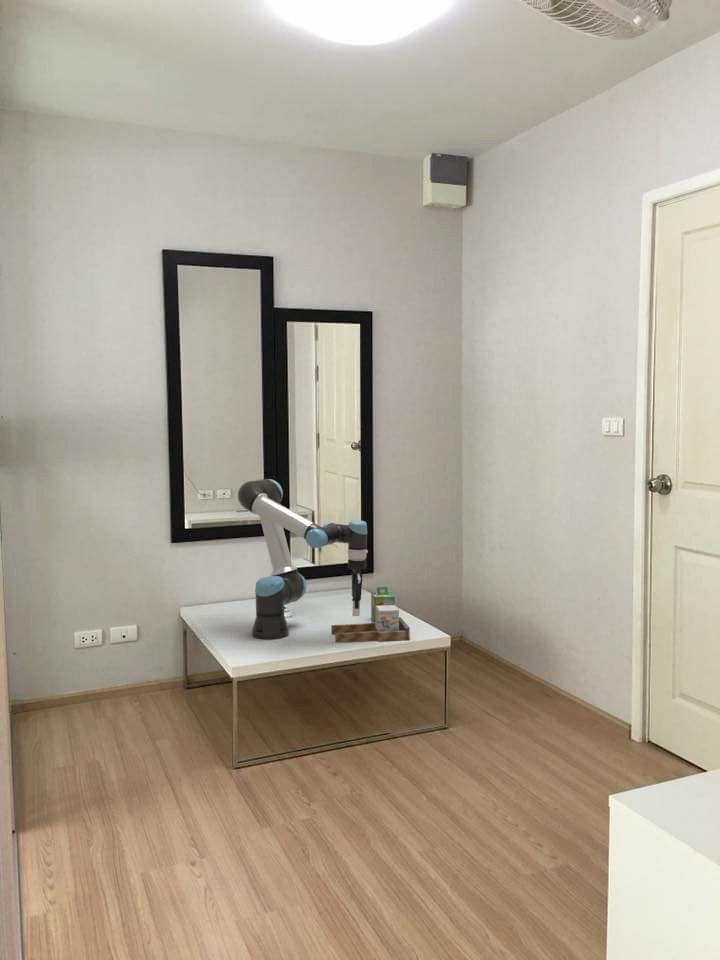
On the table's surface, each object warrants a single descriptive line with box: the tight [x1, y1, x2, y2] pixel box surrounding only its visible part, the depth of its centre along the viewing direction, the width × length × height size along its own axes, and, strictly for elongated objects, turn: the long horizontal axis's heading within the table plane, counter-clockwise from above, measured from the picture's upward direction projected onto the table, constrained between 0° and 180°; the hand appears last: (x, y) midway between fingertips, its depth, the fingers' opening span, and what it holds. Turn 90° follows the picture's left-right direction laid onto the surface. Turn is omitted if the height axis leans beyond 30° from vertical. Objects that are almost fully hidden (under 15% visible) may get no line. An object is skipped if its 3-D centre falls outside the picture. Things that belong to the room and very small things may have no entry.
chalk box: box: [370, 586, 396, 622], centre depth 359 cm, size 9×9×15 cm
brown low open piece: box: [330, 616, 411, 644], centre depth 335 cm, size 30×17×5 cm, turn 100°
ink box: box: [375, 604, 400, 632], centre depth 336 cm, size 9×9×12 cm
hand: (356, 615), depth 334 cm, fingers closed
